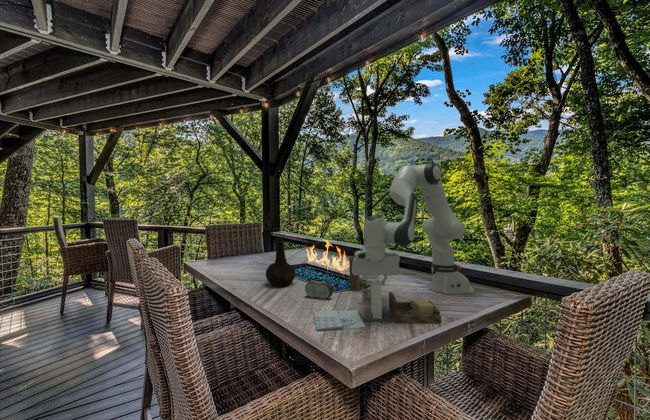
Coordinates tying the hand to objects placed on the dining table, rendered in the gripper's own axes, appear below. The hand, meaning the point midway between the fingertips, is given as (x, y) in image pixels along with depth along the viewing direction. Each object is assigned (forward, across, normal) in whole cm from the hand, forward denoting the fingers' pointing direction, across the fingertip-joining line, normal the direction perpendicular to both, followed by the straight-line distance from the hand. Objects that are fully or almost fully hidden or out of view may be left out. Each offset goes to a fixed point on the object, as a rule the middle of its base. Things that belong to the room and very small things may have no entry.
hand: (375, 285), depth 136 cm
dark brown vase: (+13, +52, -50) cm, 73 cm away
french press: (+13, +2, -15) cm, 20 cm away
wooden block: (+13, +6, -38) cm, 41 cm away
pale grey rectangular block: (+13, 0, 0) cm, 13 cm away
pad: (+13, 0, 0) cm, 13 cm away
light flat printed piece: (+14, +16, +6) cm, 22 cm away
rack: (+13, -16, 0) cm, 21 cm away
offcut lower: (+14, -20, 0) cm, 24 cm away
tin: (+14, +27, -24) cm, 39 cm away
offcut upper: (+11, -20, 0) cm, 22 cm away
